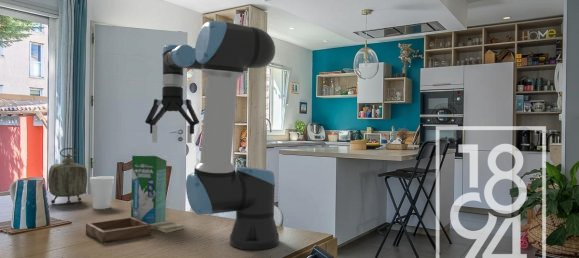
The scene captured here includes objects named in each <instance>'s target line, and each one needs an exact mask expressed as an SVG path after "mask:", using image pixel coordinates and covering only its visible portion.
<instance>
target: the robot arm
mask: <svg viewBox="0 0 579 258" xmlns="http://www.w3.org/2000/svg"><path fill="white" fill-rule="evenodd" d="M275 54H276V45H275V42H274V40H273V38H272V37H271V35H270V34H269V33H268V32H266V31H265V30H263V29H262V28H259V27H255V26H254V27H253V26H247V25H242V24H237V23H232V22H226V21H221V20H219V21H218V20H208V21H207V22H205V23H204V24H203V25H202V26H201V28H200V30H199V32H198V35H197V37H196V40H195V46H194V47H192V46H191V45H189V44H181V45H179V44H178V45H177V44H166V45H164V46H163V48H162V54H161V55H162V81H161V83H162V85H161V86H163V87H162V88H161V89H162V91H161V94H162V96H161V99H156V98H155V99H153V105H152V107H151V109H150V111H149V113H148V115H147V117H146V119H145V120H144V122H145V124H148V125H149V133H150V134H151V137H152V139H151V141H152V142H151V143H158V124H157V123H158V122H159V120H160V119H161V118H162V117H163V116H164V115H165V113H167V112H179V113H180V115H181V116H182V117H183V118H184V119H185V121H186V122H187V124H189V125H187V133H186V137H187V138H186V142H187V144H191V143H192V141H193V140H192V139H193V138H192V137H193V136H192V135H194V134H195V126H196V125H198V124H200V121H199V119H198V116H197V114H196V112H195V110H194V107H193V106H192V100H191V99H189V98H187V99H184V98H183V97H184V88H183V87H184V69H191V70H199V71H200V70H201V71H202V72H203V73H204V75H205V76H206V81H205V91H204V92H205V93H204V94H205V95H204V97H205V98H204V109H203V121H202V122H203V125H202V137H201V148H200V149H201V150H200V151H201V152H200V160H199V162H197V163H196V164H195V165H194V172H192V173H189V174H188V175H187V177H186V179H185V180H186V181H185V191H186V196H187V197H186V198H187V201H188V205H189V207H190V208H191V210H192V211H193V212H194V213H195V214H197V215H213V214H223V213H231V212H235V220H234V223H233V225H232V226H233V227H232V230H231V233H230V235H229V244H230V247H231V246H232V247H233V248H236V249H240V250H246V251H247V250H248V251H249V250H250V251H252V250H253V251H259V250H267V249H272V248H275V247H277V246H278V245H279V244H280V235H279V231H278V228H277V225H276V221H275V189H276V188H275V186H276V183H275V182H276V181H275V173H274V172H273V171H272V170H269V169H263V168H257V167H256V168H255V167H249V166H237V168H236V167H235V166H234V164H233V163H232V152H233V151H232V150H233V141H234V140H233V139H234V128H235V115H236V101H237V100H236V99H237V93H238V92H237V89H238V80H239V79H240V78H241V77H242V76H243V75H244V70H245V69H261V68H265V67H267V66H268V65H270V63H271V62H272V61H273V60H274V58H275ZM161 105H162V107H161V108H160V110H159V106H161ZM183 105H185V106H186V108H187V110H188V112H189V114H188V113H187V112H186V111H185V109H184V108H183ZM158 110H159V111H158ZM157 111H158V113H157ZM189 115H190V116H191V117H190V116H189ZM156 124H157V125H156Z"/></svg>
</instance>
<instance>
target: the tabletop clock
mask: <svg viewBox="0 0 579 258" xmlns="http://www.w3.org/2000/svg"><path fill="white" fill-rule="evenodd" d="M65 150H71V151H72V150H73V151H74V152H75V154H72V155H70V153H67V154H66V155H63V154H62V152H63V151H65ZM77 154H78V150H76V149H75V148H73V147H65V148H63V149H61V150H59V155H60V156H61V157H63V159H62V161H61V163H55V164H52V165H50V168H49V171H48V176H47V185H48V187H47V188H48V191H49V192H50V194H51V195H52V196H53V197H54V198H53V199H51V200H50V203H51V204H55V203H56V199H58V198H59V197H60V198H65V197H66V198H67V201H66V204H67V205H70V204H71V203H72V202H71V198H70V197H77V201H78V202H81V201H82V198H81V197H80V196H81V195H83V194H85V193H86V190H87V186H88V171H87V168H86V166H85V165H83V164H80V163H77V162H76V161H75V159H74V158H73V157H76V156H77Z"/></svg>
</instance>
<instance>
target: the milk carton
mask: <svg viewBox="0 0 579 258" xmlns="http://www.w3.org/2000/svg"><path fill="white" fill-rule="evenodd" d="M130 199H131V200H130V202H131V203H130V204H131V206H130V217H133V218H135V219H138V220H140V221H143V222H145V223H148V224H153V223H158V222H162V221H166V205H167V203H166V202H167V201H166V200H167V160H166V159H164V158H161V157H160V156H158V155H155V154H146V155H135V154H134V155H132V157H131V197H130Z"/></svg>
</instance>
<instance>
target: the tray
mask: <svg viewBox="0 0 579 258" xmlns="http://www.w3.org/2000/svg"><path fill="white" fill-rule="evenodd" d="M151 233H152V229H151V225H150V224H148V223H145V222H143V221H140V220H138V219H135V218H133V217H131V216H128V217H122V218H115V219H107V220H101V221H100V220H99V221H94V222H86V223H85V234H86V236H88V237H90V238H92V239H93V240H95V241H97V242H99V243H100V244H102V245H103V244H104V243H105V244H110V243H115V242H116V243H117V242H121V241H127V240H132V239H137V238H144V237H149V236H151V235H152V234H151Z"/></svg>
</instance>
